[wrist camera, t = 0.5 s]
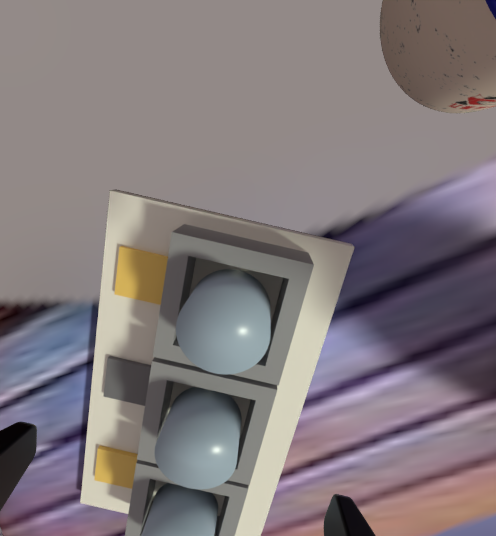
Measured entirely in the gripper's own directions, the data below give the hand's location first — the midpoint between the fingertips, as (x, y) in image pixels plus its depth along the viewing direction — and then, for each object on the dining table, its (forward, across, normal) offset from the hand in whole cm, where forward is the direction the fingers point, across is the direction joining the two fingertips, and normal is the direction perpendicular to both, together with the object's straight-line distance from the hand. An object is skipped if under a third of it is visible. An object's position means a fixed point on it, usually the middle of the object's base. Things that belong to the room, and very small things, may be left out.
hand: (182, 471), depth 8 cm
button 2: (+10, 0, +8) cm, 13 cm away
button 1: (+10, 0, 0) cm, 10 cm away
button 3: (+10, 0, +15) cm, 18 cm away
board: (+13, +1, +7) cm, 15 cm away
